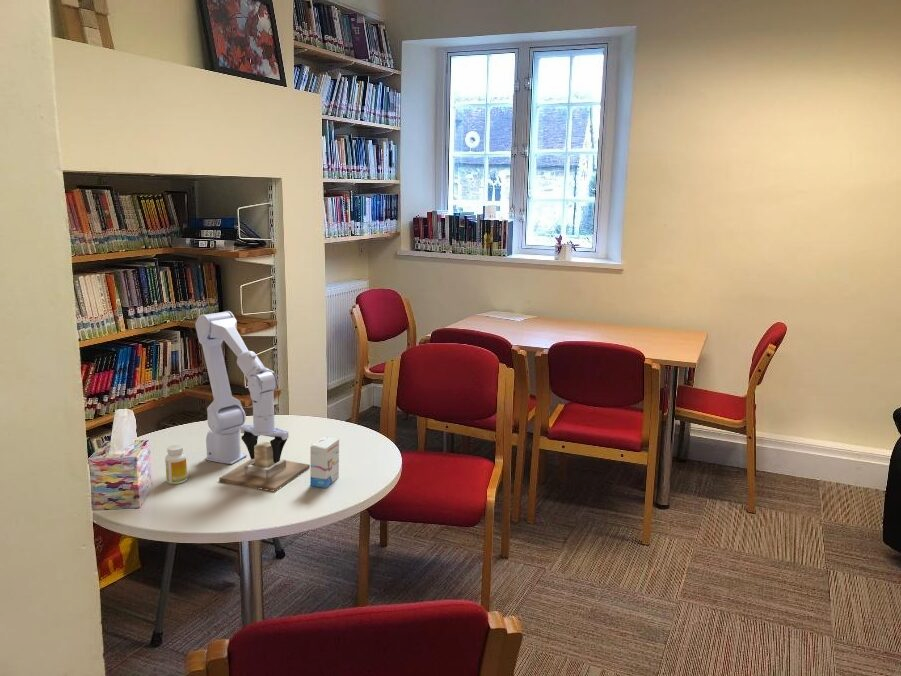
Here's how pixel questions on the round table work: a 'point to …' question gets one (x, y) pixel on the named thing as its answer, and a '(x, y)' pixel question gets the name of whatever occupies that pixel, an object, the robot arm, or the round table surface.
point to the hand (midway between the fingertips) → (265, 459)
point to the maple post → (263, 454)
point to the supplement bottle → (176, 465)
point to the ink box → (324, 462)
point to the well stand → (265, 474)
